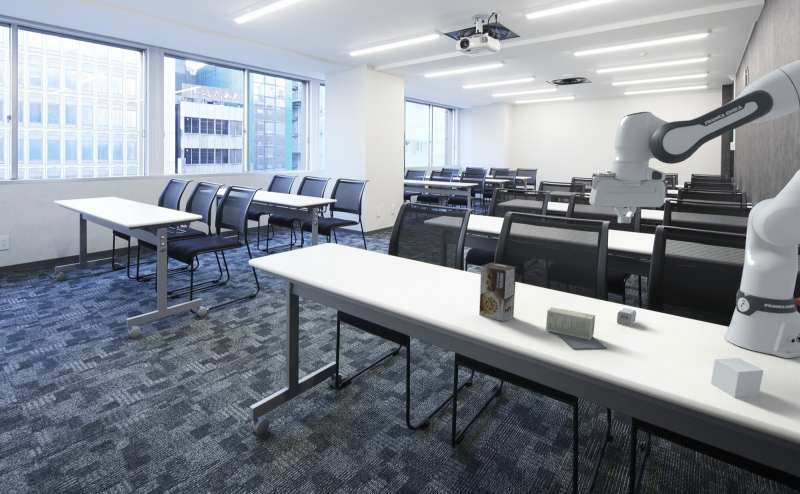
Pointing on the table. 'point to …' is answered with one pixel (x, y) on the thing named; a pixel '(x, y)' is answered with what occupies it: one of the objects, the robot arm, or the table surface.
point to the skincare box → (570, 323)
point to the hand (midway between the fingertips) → (623, 222)
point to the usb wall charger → (626, 317)
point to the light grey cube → (737, 377)
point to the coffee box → (497, 291)
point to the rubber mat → (581, 342)
